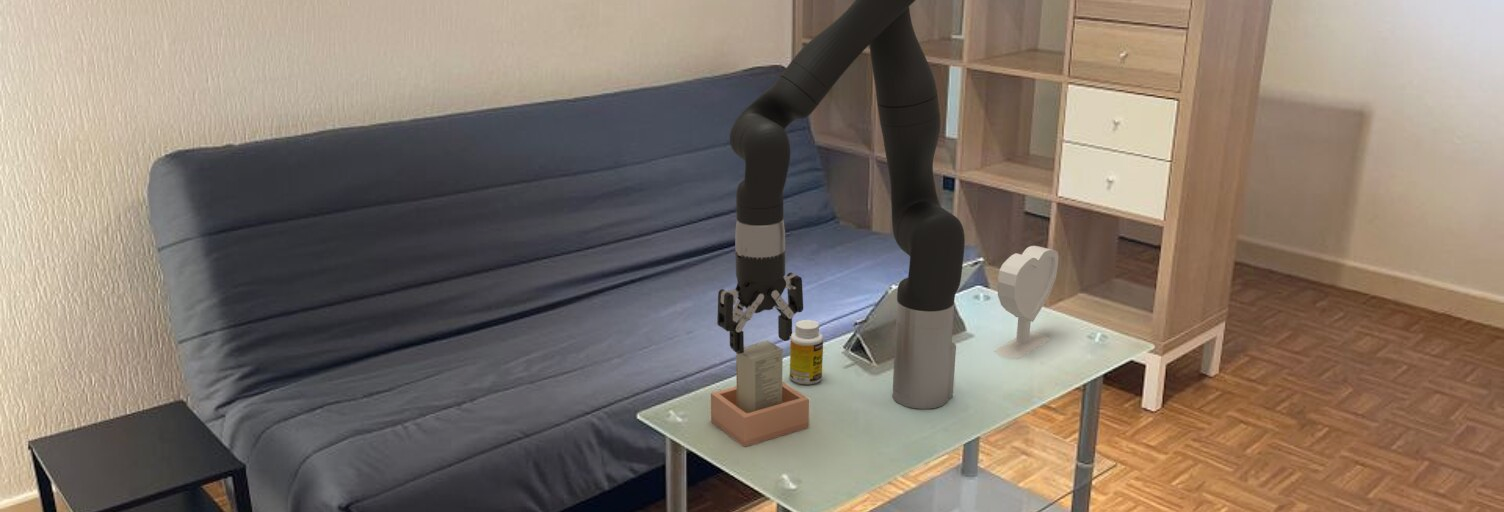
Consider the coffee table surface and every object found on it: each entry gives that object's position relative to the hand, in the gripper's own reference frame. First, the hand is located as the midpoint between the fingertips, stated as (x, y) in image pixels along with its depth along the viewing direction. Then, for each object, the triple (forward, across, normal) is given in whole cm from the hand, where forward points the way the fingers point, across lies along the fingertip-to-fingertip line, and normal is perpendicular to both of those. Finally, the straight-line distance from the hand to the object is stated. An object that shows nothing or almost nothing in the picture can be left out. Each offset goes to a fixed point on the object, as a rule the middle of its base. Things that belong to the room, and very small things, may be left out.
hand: (761, 345), depth 193 cm
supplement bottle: (+14, -16, -10) cm, 23 cm away
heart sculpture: (+15, -58, -1) cm, 60 cm away
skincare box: (+13, 0, 0) cm, 13 cm away
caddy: (+14, 0, 0) cm, 14 cm away
